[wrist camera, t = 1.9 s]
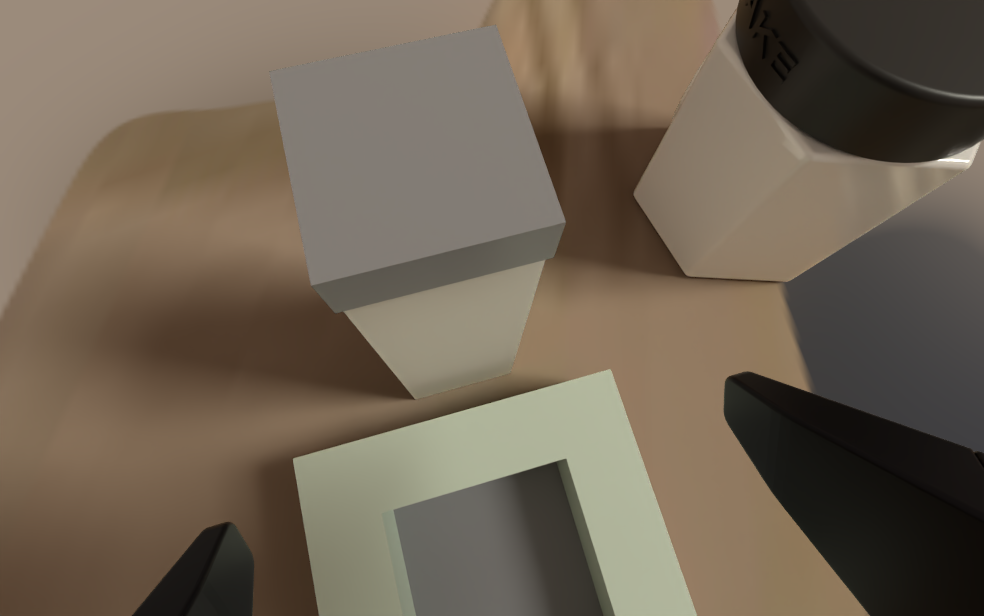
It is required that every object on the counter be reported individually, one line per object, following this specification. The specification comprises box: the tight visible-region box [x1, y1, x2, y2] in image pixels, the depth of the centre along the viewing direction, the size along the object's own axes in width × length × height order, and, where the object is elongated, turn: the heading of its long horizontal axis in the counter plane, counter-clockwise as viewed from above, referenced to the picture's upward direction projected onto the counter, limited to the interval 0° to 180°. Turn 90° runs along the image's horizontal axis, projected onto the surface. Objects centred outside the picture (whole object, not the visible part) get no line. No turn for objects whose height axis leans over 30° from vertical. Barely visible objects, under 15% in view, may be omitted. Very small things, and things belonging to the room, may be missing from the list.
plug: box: [270, 25, 566, 400], centre depth 16 cm, size 4×4×14 cm
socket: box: [293, 369, 697, 616], centre depth 19 cm, size 11×11×3 cm
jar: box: [633, 0, 984, 282], centre depth 19 cm, size 9×8×12 cm
